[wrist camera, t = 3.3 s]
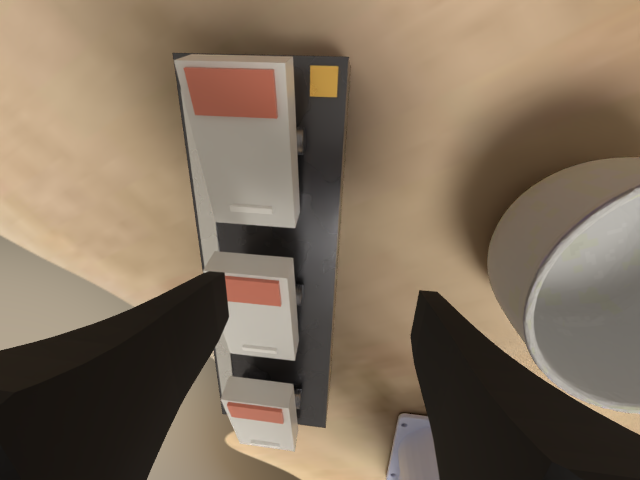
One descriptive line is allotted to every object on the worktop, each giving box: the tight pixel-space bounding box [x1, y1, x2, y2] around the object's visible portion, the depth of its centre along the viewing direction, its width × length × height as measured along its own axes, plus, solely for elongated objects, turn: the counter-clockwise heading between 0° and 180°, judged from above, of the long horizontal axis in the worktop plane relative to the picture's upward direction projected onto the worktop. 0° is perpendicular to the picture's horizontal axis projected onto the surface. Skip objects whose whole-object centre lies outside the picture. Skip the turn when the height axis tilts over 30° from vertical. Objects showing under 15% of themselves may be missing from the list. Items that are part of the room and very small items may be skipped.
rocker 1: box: [174, 54, 300, 228], centre depth 13 cm, size 7×4×2 cm, turn 178°
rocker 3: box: [221, 376, 298, 451], centre depth 20 cm, size 7×4×2 cm, turn 178°
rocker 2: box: [203, 251, 299, 361], centre depth 17 cm, size 7×4×2 cm, turn 178°
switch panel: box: [173, 53, 351, 428], centre depth 19 cm, size 24×8×5 cm, turn 178°
